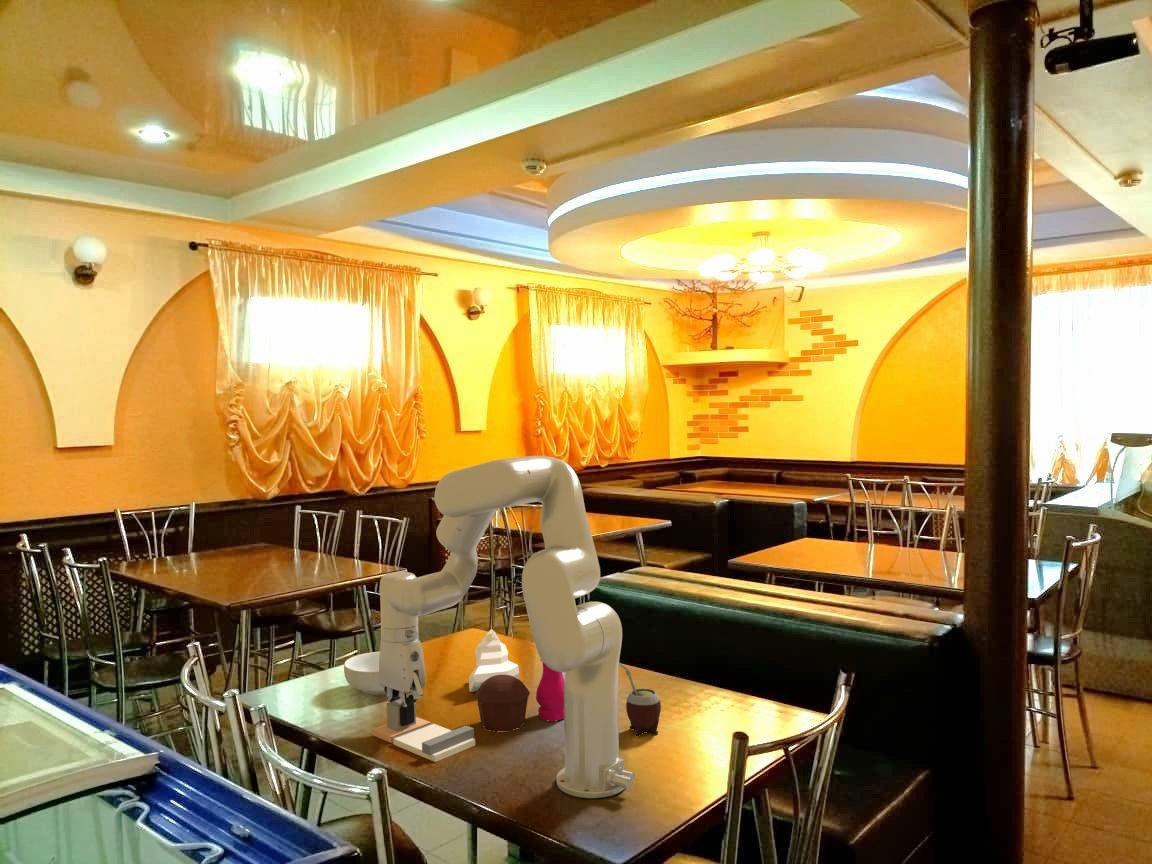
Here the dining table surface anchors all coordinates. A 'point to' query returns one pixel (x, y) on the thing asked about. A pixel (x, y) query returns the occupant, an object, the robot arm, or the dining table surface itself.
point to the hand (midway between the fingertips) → (401, 721)
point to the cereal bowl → (364, 673)
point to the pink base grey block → (397, 723)
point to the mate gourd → (642, 708)
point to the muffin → (502, 703)
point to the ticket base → (427, 735)
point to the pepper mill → (551, 695)
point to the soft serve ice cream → (491, 661)
